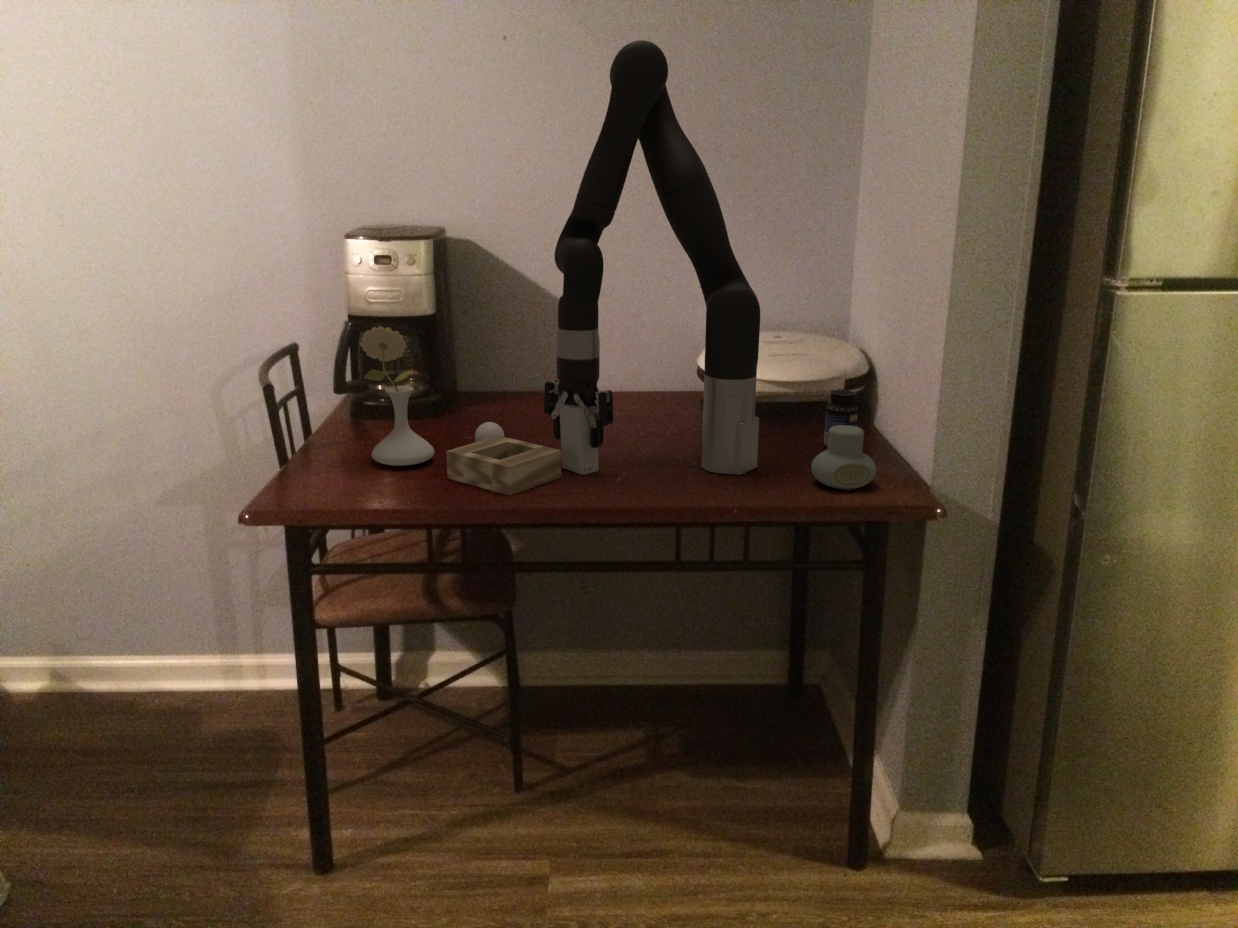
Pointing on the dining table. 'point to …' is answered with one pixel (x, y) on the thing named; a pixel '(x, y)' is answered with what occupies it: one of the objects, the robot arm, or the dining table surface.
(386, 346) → the flower in vase
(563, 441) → the skincare box
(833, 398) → the pill bottle
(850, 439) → the air freshener
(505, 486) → the caddy
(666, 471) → the dining table surface
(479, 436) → the white egg
